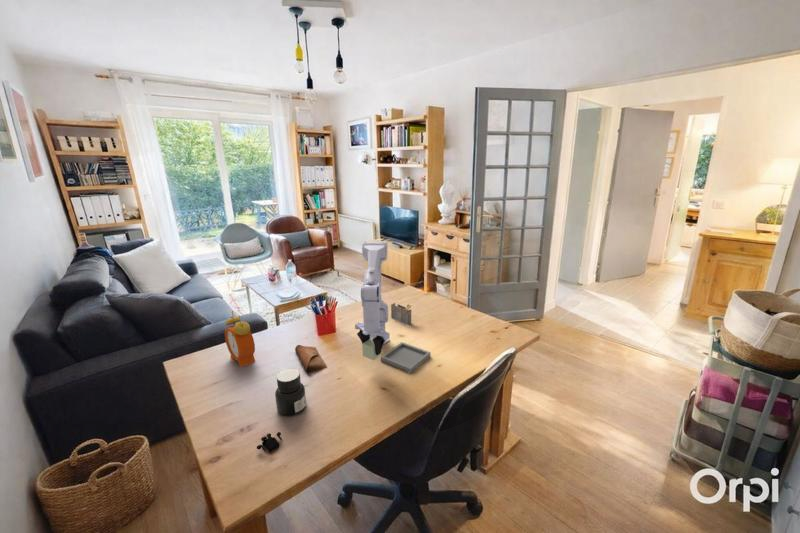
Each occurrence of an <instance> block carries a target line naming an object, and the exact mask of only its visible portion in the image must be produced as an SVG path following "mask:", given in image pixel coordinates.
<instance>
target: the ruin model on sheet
mask: <svg viewBox="0 0 800 533" xmlns="http://www.w3.org/2000/svg"><path fill="white" fill-rule="evenodd" d="M390 317H391V319H393V320H395V321H397V320H398V321H397V322H400V323H402V322H403V323H402V324H404V323H405V325H406V324H407V325H406V326H408V324H409V325H411V324H412V305H410V304H409V303H407V304H406V306H404V305H402V304H399V303H398V304H397V305H396V302H394V303H391V304H390ZM410 323H411V324H410Z"/></svg>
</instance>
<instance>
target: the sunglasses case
mask: <svg viewBox="0 0 800 533" xmlns="http://www.w3.org/2000/svg"><path fill="white" fill-rule="evenodd" d="M294 351H295V353H296V355H297V357H298V359H299V361H300V363H301V366H302V367H303V369H304V372H305V373H307V374H312V373H315V372H318V371H321V370H325V369H328V366H327V365H326V363H325V361H324V359H323V358H322V356H321V354H320V353H319V351H318V349H317V347H316V346H307V345H306V346H305V345H301V344H298V345H296V346H295V348H294Z"/></svg>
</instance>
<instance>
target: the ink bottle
mask: <svg viewBox="0 0 800 533" xmlns="http://www.w3.org/2000/svg"><path fill="white" fill-rule="evenodd" d="M276 385H277V388H276V390H275V393H274V395H275V403H276V404H275V406H276V411H277V414H279V416H282V417H286V418H287V417H294V416H297V415H300V414H301V413H302V412H303V411H304V410H305V409H306V407H307V399H306V398H307V397H306V388H305V385H304V384H303V383H302V382H301V373H300V370H298V369H296V368H287V369H284V370H282V371H280V372H278V374H277V375H276Z"/></svg>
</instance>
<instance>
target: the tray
mask: <svg viewBox="0 0 800 533" xmlns="http://www.w3.org/2000/svg"><path fill="white" fill-rule="evenodd" d="M429 358H431V352H430V351H427V350H425V349H423V348H419V347H417V346H413V345H412V344H408V343H405V342H402V341H401V342H400V343H398V344H397V345H395V346H394V347H393V348H391V349H390V350H389V351H387V352H386V353H384V354H382V355H380V362H382V363H384V364H386V365H389V366H391V367H394V368H396V369H398V370H401V371H402V372H405V373H408V374H412V373H413V372H414V371H415V370H417V369H418V368H419V367H420V366H421V365H423V364H424V363H425V362H426V361H427V360H428V359H429Z"/></svg>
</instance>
